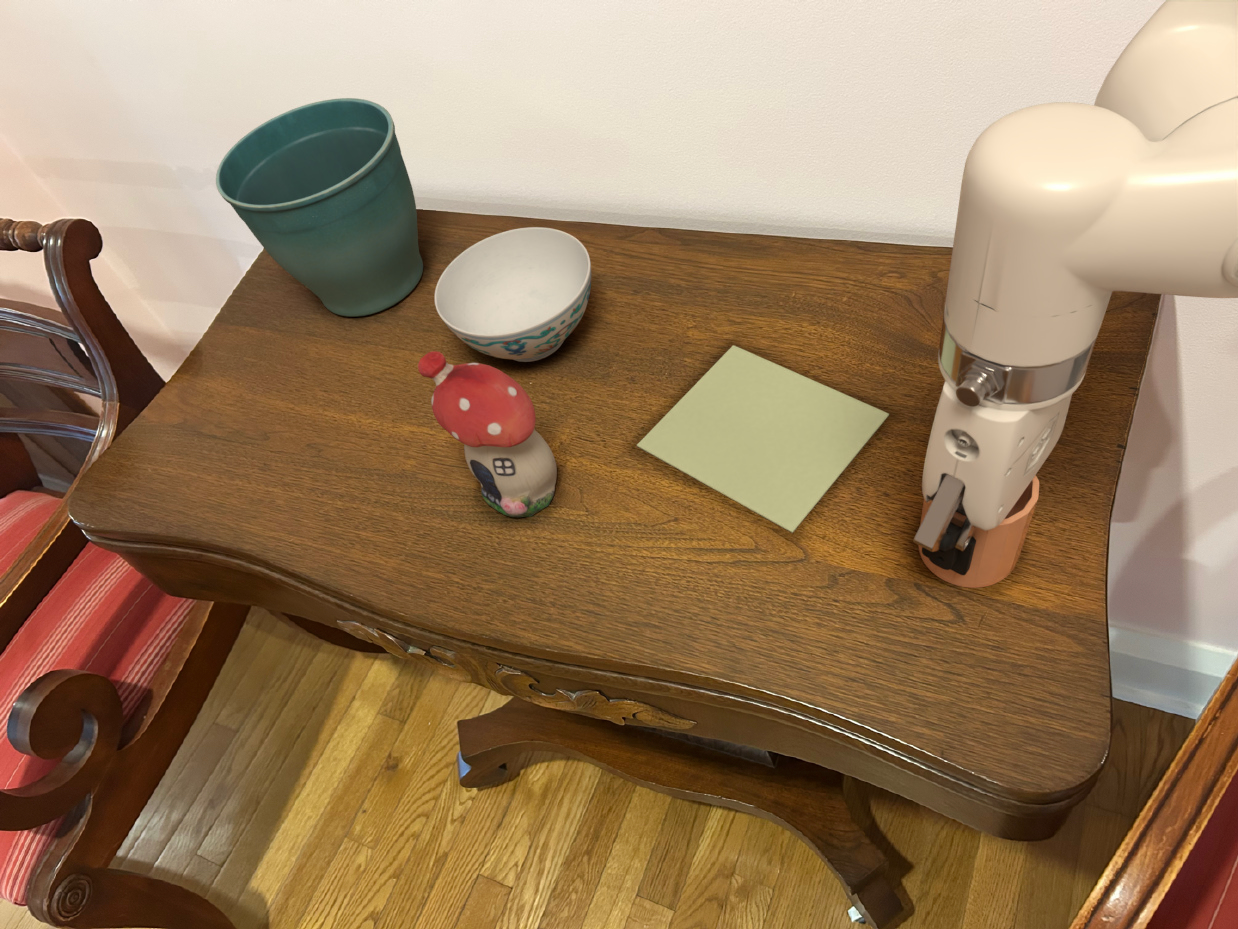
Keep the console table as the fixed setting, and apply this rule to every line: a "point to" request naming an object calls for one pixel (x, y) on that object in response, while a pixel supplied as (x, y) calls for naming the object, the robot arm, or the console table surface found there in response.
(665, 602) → the console table surface
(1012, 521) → the cup
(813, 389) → the mat
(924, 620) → the console table surface
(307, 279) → the flower pot
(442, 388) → the decorative ornament
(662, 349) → the console table surface
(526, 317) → the chinaware
